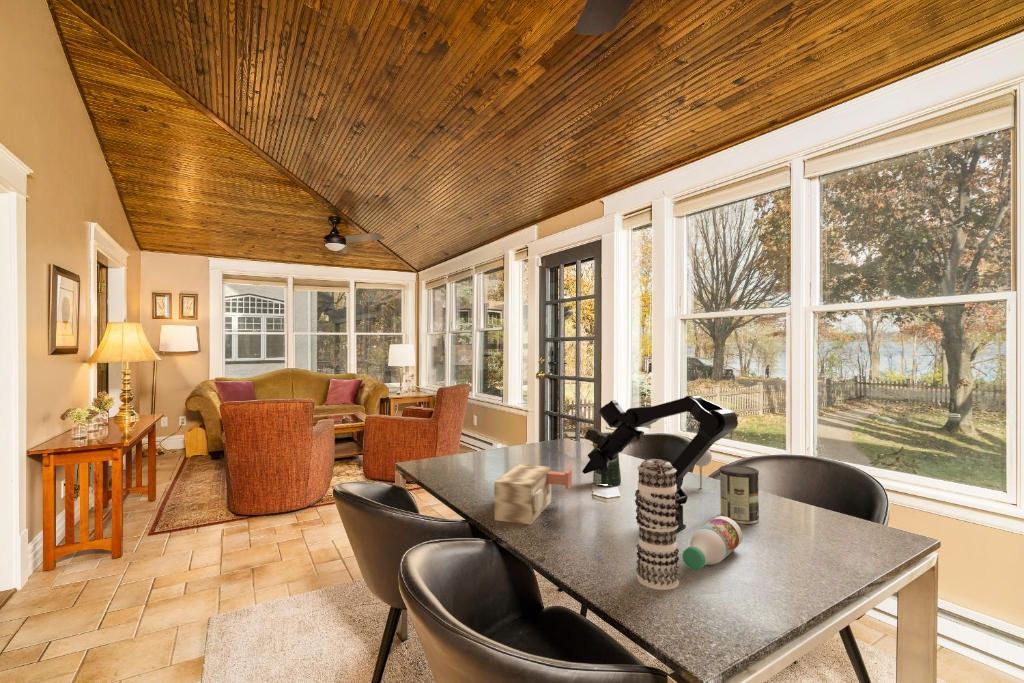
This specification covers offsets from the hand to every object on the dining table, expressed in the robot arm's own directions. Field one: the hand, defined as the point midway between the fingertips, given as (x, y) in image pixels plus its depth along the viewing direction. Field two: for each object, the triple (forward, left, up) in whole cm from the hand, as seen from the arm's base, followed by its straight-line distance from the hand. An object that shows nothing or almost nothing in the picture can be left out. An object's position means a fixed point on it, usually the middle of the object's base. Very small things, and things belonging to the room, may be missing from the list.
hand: (583, 472), depth 147 cm
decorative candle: (-39, +27, -11) cm, 48 cm away
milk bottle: (-43, -1, -7) cm, 43 cm away
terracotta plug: (+9, +5, -5) cm, 11 cm away
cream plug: (+7, +20, -7) cm, 23 cm away
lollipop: (-18, -45, -11) cm, 50 cm away
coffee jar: (+9, -27, -11) cm, 31 cm away
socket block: (+12, +14, -11) cm, 21 cm away
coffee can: (-38, -24, -11) cm, 46 cm away
